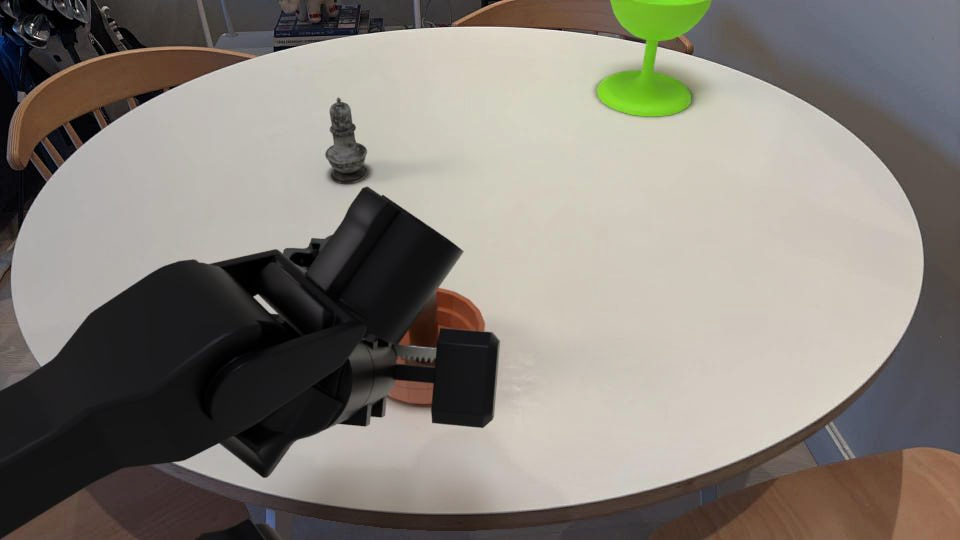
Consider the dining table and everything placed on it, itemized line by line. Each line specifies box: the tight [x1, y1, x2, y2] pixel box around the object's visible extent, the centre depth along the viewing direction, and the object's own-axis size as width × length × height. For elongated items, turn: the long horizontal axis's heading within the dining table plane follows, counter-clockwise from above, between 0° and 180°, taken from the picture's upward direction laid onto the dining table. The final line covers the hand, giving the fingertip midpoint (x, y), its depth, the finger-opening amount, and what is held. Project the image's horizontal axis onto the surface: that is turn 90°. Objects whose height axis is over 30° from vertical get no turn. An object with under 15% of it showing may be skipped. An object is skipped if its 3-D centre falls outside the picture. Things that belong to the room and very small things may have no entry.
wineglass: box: [596, 0, 713, 118], centre depth 114 cm, size 16×16×18 cm
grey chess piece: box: [324, 96, 368, 185], centre depth 97 cm, size 6×6×12 cm
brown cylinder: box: [404, 292, 439, 367], centre depth 69 cm, size 4×4×13 cm
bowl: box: [387, 287, 486, 405], centre depth 72 cm, size 12×12×5 cm
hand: (384, 361), depth 55 cm, fingers open, 9 cm apart
